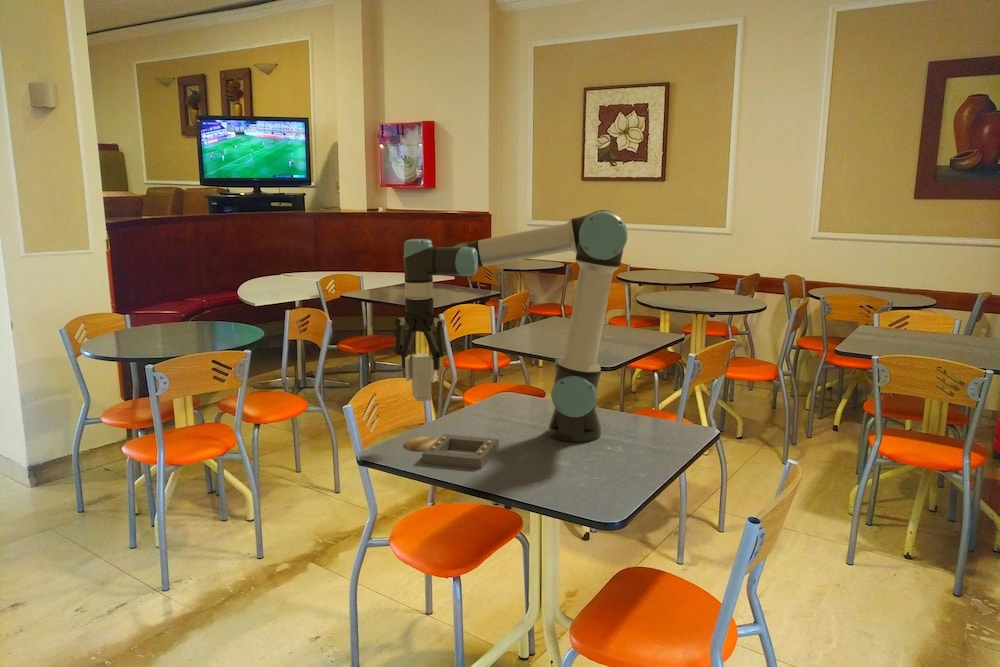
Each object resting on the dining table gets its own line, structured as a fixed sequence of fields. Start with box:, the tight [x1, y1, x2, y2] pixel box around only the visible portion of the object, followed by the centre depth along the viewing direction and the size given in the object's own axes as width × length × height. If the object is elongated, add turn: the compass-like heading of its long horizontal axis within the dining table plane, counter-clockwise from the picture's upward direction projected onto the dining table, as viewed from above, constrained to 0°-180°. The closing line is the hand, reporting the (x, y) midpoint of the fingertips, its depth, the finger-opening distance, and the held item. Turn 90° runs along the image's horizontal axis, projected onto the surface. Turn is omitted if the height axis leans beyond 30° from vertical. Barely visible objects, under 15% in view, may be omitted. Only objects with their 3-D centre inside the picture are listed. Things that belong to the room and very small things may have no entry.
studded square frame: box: [422, 434, 500, 469], centre depth 199 cm, size 16×16×3 cm
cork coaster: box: [404, 436, 439, 452], centre depth 207 cm, size 10×10×1 cm
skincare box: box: [410, 352, 432, 402], centre depth 203 cm, size 6×4×12 cm
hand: (421, 380), depth 204 cm, fingers closed on skincare box, 7 cm apart
